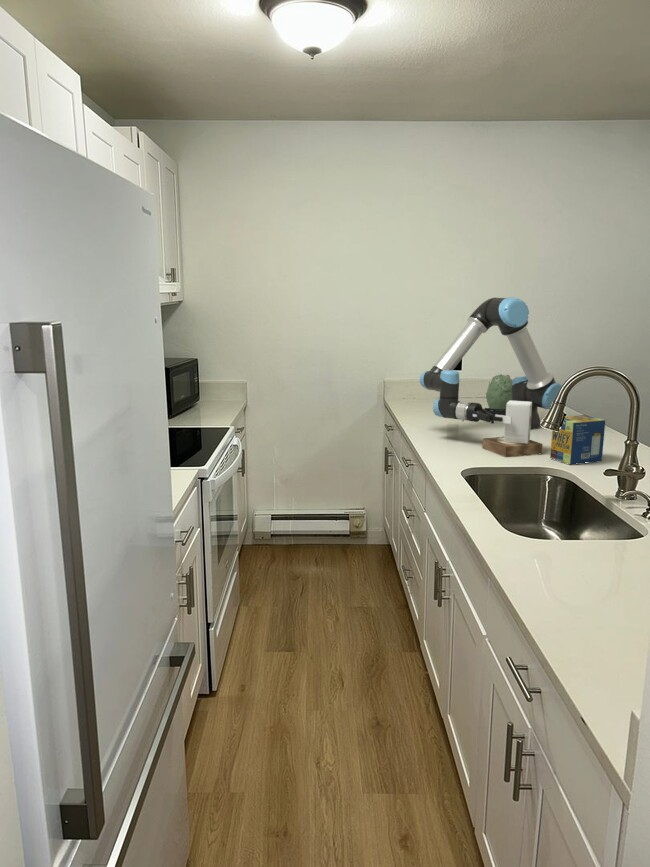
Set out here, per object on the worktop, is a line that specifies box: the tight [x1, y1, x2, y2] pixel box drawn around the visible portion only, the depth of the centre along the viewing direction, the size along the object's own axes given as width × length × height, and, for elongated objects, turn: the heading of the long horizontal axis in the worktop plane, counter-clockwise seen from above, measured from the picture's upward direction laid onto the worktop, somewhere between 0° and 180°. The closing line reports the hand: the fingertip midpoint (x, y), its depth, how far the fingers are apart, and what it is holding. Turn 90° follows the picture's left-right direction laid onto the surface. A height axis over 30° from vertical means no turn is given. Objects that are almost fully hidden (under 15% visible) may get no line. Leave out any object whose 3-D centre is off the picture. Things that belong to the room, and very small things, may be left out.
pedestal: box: [481, 436, 544, 458], centre depth 263 cm, size 16×16×4 cm
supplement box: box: [503, 401, 532, 444], centre depth 260 cm, size 9×9×15 cm
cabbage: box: [485, 373, 513, 409], centre depth 346 cm, size 16×19×20 cm
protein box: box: [549, 414, 606, 465], centre depth 248 cm, size 10×15×16 cm
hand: (519, 417), depth 260 cm, fingers open, 13 cm apart
